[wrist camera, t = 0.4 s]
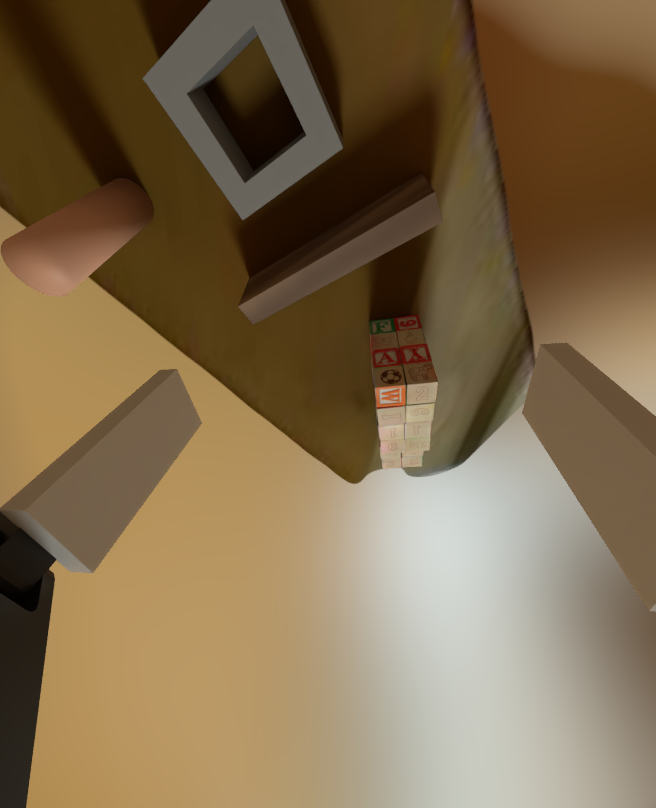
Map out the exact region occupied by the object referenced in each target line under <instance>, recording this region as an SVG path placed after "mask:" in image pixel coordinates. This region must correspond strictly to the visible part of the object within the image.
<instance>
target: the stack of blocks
mask: <svg viewBox="0 0 656 808" xmlns="http://www.w3.org/2000/svg"><path fill="white" fill-rule="evenodd" d="M369 328H370V349H371V364H372V375H373V384H374V391H375V410H376V420H377V427H378V438H379V448H380V457H381V459H382V468H383V469H387V468H401V467H416V466H422V459H423V451H427V450H429V449H430V439H431V436H430V433H431V423H432V422H431V421H432V420H433V414H434V406H435V401H436V394H437V387H438V380H437V377H436V374H435V370H434V367H433V364H432V359H431V356H430V352H429V349H428V346H427V344H426V341H425V338H424V334H423V331H422V326H421V323H420V319H419V316H418V315H412V316H404V317H397V318H391V319H383V320H375V321H369Z"/></svg>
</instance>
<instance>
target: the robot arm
mask: <svg viewBox="0 0 656 808" xmlns="http://www.w3.org/2000/svg"><path fill="white" fill-rule="evenodd" d="M522 413H523V415H524V416H525V418H526V420H527V421H528V423H529V424H530V426H531V427H532V429H533V430H534V432H535V434H536V435H537V437H538V438H539V440H540V441H541V443H542V445H543V446H544V448H545V449H546V451H547V452H548V454H549V456H550V457H551V459H552V460H553V462H554V463H555V465H556V467H557V468H558V470H559V471H560V473H561V474H562V476H563V478H564V479H565V481H566V482H567V484H568V485H569V487H570V489H571V490H572V492H573V493H574V495H575V496H576V498H577V499H578V501H579V503H580V504H581V506H582V507H583V509H584V510H585V512H586V514H587V515H588V517H589V518H590V520H591V521H592V523H593V525H594V526H595V528H596V529H597V531H598V532H599V534H600V535H601V537H602V538H603V540H604V542H605V543H606V545H607V546H608V548H609V550H610V551H611V553H612V554H613V556H614V557H615V559H616V561H617V562H618V564H619V565H620V567H621V568H622V570H623V571H624V573H625V575H626V576H627V578H628V579H629V581H630V582H631V584H632V586H633V587H634V589H635V590H636V592H637V593H638V595H639V597H640V598H641V600H642V601H643V603H644V604H645V606H646V607H647V609H648V611H656V416H654V415H653V414H652V413H651V412H650V411H648V410H647V409H646V408H645V407H644V406H642V405H641V404H640V403H639V402H638V401H636V400H635V399H634V398H633V397H632V396H630V395H629V394H628V393H627V392H626V391H624V390H623V389H622V388H621V387H620V386H618V385H617V384H616V383H615V382H614V381H612V380H611V379H610V378H609V377H608V376H606V375H605V374H604V373H603V372H601V371H600V370H599V369H598V368H597V367H596V366H594V365H593V364H592V363H591V362H589V361H588V360H587V359H586V358H585V357H583V356H582V355H581V354H580V353H579V352H578V351H576V350H575V349H574V348H573V347H572V346H570V345H569V344H568V343H554V344H541V345H540V348H539V352H538V355H537V359H536V363H535V366H534V370H533V374H532V378H531V381H530V385H529V389H528V393H527V396H526V400H525V404H524V408H523V412H522ZM201 424H202V422H201V420H200V418H199V416H198V414H197V412H196V409H195V407H194V405H193V403H192V401H191V399H190V396H189V394H188V392H187V390H186V388H185V386H184V383H183V381H182V379H181V377H180V375H179V373H178V370H177V369H172V370H171V369H170V370H160V371H158V372H157V373H156V374H155V375H154V376H153V377H151V378H150V379H149V380H148V381H147V382H146V383H144V384H143V385H142V386H141V387H140V388H139V389H137V390H136V391H135V392H134V393H133V394H132V395H131V396H129V397H128V398H127V399H126V400H125V401H124V402H122V403H121V404H120V405H119V406H118V407H117V408H115V409H114V410H113V411H112V412H111V413H110V414H109V415H107V416H106V417H105V418H104V419H103V420H102V421H100V422H99V423H98V424H97V425H96V426H95V427H93V428H92V429H91V430H90V431H89V432H88V433H87V434H86V435H84V436H83V437H82V438H81V439H80V440H78V441H77V442H76V443H75V444H74V445H73V446H71V447H70V448H69V449H68V450H67V451H66V452H65V453H63V454H62V455H61V456H60V457H59V458H58V459H56V461H54V462H53V463H52V464H51V465H49V466H48V467H47V468H46V469H45V470H44V471H43V472H41V473H40V474H39V475H38V476H37V477H36V478H35V479H33V480H32V481H31V482H30V483H29V484H27V485H26V486H25V487H24V488H23V489H22V490H20V492H18V493H17V494H16V495H15V496H14V497H12V498H11V499H10V500H9V501H8V502H7V503H5V504H4V505H3V506H2V507H1V508H0V808H26V802H27V795H28V787H29V779H30V771H31V763H32V755H33V747H34V739H35V731H36V724H37V716H38V707H39V700H40V692H41V684H42V676H43V669H44V661H45V653H46V645H47V636H48V629H49V621H50V613H51V605H52V597H53V589H54V581H55V578H54V573H53V572H51V571H50V570H49V568H50V567H51V565H52V564H53V563H54V562H55V561H56V560H57V561H58V562H59V563H60V564H62V565H63V566H64V567H65V568H66V569H67V570H69V571H70V572H84V573H93V572H94V571H95V570H96V568H97V567H98V565H99V564H100V563H101V561H102V560H103V559H104V557H105V556H106V554H107V553H108V552H109V550H110V549H111V548H112V546H113V545H114V543H115V542H116V541H117V539H118V538H119V537H120V535H121V534H122V532H123V531H124V530H125V528H126V527H127V525H128V524H129V523H130V521H131V520H132V518H133V517H134V516H135V515H136V513H137V512H138V510H139V509H140V508H141V506H142V505H143V503H144V502H145V501H146V499H147V498H148V497H149V495H150V494H151V492H152V491H153V490H154V488H155V487H156V486H157V484H158V483H159V481H160V480H161V479H162V477H163V476H164V475H165V473H166V472H167V470H168V469H169V468H170V466H171V465H172V463H173V462H174V461H175V459H176V458H177V457H178V455H179V454H180V453H181V451H182V450H183V448H184V447H185V446H186V444H187V443H188V441H189V440H190V439H191V437H192V436H193V434H194V433H195V432H196V431H197V429H198V428H199V426H200V425H201Z"/></svg>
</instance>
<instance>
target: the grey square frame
mask: <svg viewBox="0 0 656 808" xmlns="http://www.w3.org/2000/svg"><path fill="white" fill-rule="evenodd" d="M257 35H258V36H259V38H260V40H261V42H262V44H263V46H264V48H265V50H266V52H267V54H268V56H269V59H270V61H271V63H272V65H273V67H274V69H275V71H276V73H277V75H278V77H279V79H280V81H281V84H282V86H283V88H284V90H285V92H286V94H287V96H288V98H289V100H290V102H291V104H292V106H293V108H294V111H295V113H296V115H297V117H298V119H299V121H300V123H301V125H302V127H303V129H304V132H303V133H302V134H300V135H299V136H298V137H297V138H295V139H294V140H293V141H292V142H290V143H289V144H288V145H287V146H285V147H284V148H283V149H281V150H280V151H279V152H278V153H276V154H275V155H274V156H273V157H271V158H270V159H269V160H268V161H266V162H265V163H264V164H262V165H261V166H260V167H259V168H257V169H256V170H255V171H253V169H252V167H251V166H250V164H249V162H248V161H247V159H246V158H245V156H244V154H243V153H242V151H241V149H240V148H239V146H238V145H237V143H236V141H235V140H234V138H233V136H232V135H231V133H230V132H229V130H228V128H227V127H226V125H225V123H224V122H223V120H222V119H221V117H220V115H219V114H218V112H217V110H216V109H215V107H214V106H213V104H212V102H211V101H210V99H209V97H208V96H207V94H206V93H205V91H204V88H205V87H206V86H207V85H208V84H209V83H210V82H211V81H212V80H213V79H214V78H215V77H216V76H217V75H218V74H219V73H220V72H221V71H222V70H223V69H224V68H225V67H226V66H227V65H228V64H229V63H230V62H231V61H232V60H233V59H234V58H235V57H236V56H237V55H238V54H239V53H240V52H241V51H242V50H243V49H244V48H245V47H246V46H247V45H248V44H249V43H250V42H251V41H252V40H253V39H254V38H255V37H256V36H257ZM143 79H144V81H145V82H146V84H147V85H148V86H149V88H150V89H151V91H152V92H153V94H154V95H155V96H156V98H157V99H158V101H159V102H160V103H161V105H162V106H163V108H164V109H165V111H166V112H167V113H168V115H169V116H170V118H171V119H172V121H173V122H174V123H175V125H176V126H177V128H178V129H179V130H180V132H181V133H182V135H183V136H184V138H185V139H186V140H187V142H188V143H189V145H190V146H191V148H192V149H193V150H194V152H195V153H196V155H197V156H198V157H199V159H200V160H201V162H202V163H203V165H204V166H205V167H206V169H207V170H208V172H209V173H210V175H211V176H212V177H213V179H214V180H215V182H216V183H217V184H218V186H219V187H220V189H221V190H222V192H223V193H224V194H225V196H226V197H227V199H228V200H229V202H230V203H231V204H232V206H233V207H234V209H235V210H236V211H237V213H238V214H239V216H240V217H241V219H242V220H244V219H246V218H247V217H248V216H250V215H251V214H253V213H254V212H255V211H257V210H258V209H259V208H261V207H262V206H264V205H265V204H266V203H268V202H269V201H271V200H272V199H273V198H275V197H276V196H277V195H279V194H280V193H282V192H283V191H284V190H286V189H287V188H289V187H290V186H291V185H293V184H294V183H295V182H297V181H298V180H300V179H301V178H302V177H304V176H305V175H307V174H308V173H309V172H311V171H312V170H313V169H315V168H316V167H318V166H319V165H320V164H322V163H323V162H325V161H326V160H327V159H329V158H330V157H331V156H333V155H334V154H336V153H337V152H338V151H340V150H341V149H343V138H342V136H341V133H340V131H339V128H338V126H337V124H336V121H335V119H334V116H333V114H332V112H331V109H330V107H329V104H328V102H327V100H326V97H325V95H324V92H323V90H322V88H321V85H320V83H319V80H318V78H317V76H316V73H315V71H314V68H313V66H312V64H311V61H310V59H309V57H308V54H307V52H306V49H305V47H304V45H303V42H302V40H301V37H300V35H299V33H298V30H297V28H296V25H295V23H294V21H293V18H292V16H291V13H290V11H289V9H288V6H287V4H286V1H285V0H211V1H210V2H209V3H208V4H207V5H206V7H205V8H204V9H203V10H202V11H201V12H200V13H199V15H198V16H197V17H196V18H195V19H194V20H193V21H192V23H191V24H190V25H189V26H188V27H187V28H186V29H185V31H184V32H183V33H182V34H181V35H180V36H179V38H178V39H177V40H176V41H175V42H174V43H173V44H172V46H171V47H170V48H169V49H168V50H167V51H166V52H165V54H164V55H163V56H162V57H161V58H160V59H159V60H158V62H157V63H156V64H155V65H154V66H153V67H152V69H151V70H150V71H149V72H148V73H147V74H146V75H145V77H144V78H143Z"/></svg>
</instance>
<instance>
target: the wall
mask: <svg viewBox="0 0 656 808" xmlns="http://www.w3.org/2000/svg"><path fill="white" fill-rule="evenodd" d="M442 222H443V219H442V216H441V212H440V208H439V205H438V201H437V197H436V194H435V191H434V190H433V188H432V187H431V185H430V184H429V182H428V181H427V179H426V178H425V177H424V175H423V174H422V172H420V173H419V174H417V175H416V176H414V177H412V178H411V179H409V180H408V181H406V182H404V183H403V184H401V185H399V186H398V187H396V188H395V189H393V190H391V191H390V192H388V193H387V194H385V195H383V196H382V197H380V198H378V199H377V200H375V201H374V202H372V203H370V204H369V205H367V206H366V207H364V208H362V209H361V210H359V211H357V212H356V213H354V214H353V215H351V216H349V217H348V218H346V219H345V220H343V221H341V222H340V223H338V224H336V225H335V226H333V227H332V228H330V229H328V230H327V231H325V232H324V233H322V234H320V235H319V236H317V237H315V238H314V239H312V240H311V241H309V242H307V243H306V244H304V245H303V246H301V247H299V248H298V249H296V250H294V251H293V252H291V253H290V254H288V255H286V256H285V257H283V258H282V259H280V260H278V261H277V262H275V263H273V264H272V265H270V266H269V267H267V268H265V269H264V270H262V271H261V272H259V273H257V274H256V275H254V276H252V277H251V278H249V281H248V283H247V286H246V288H245V291H244V293H243V296H242V298H241V301H240V303H239V305H238V307H239V308H240V309H241V311H242V312H243V313H244V314H245V315H246V316H247V317H248V319H249V320H250V321H251V322H252V323H253V324H255V323H257V322H259V321H261V320H262V319H264V318H266V317H268V316H270V315H272V314H274V313H275V312H277V311H279V310H281V309H283V308H285V307H287V306H288V305H290V304H292V303H294V302H296V301H298V300H299V299H301V298H303V297H305V296H307V295H309V294H311V293H312V292H314V291H316V290H318V289H320V288H322V287H324V286H325V285H327V284H329V283H331V282H333V281H335V280H337V279H338V278H340V277H342V276H344V275H346V274H348V273H349V272H351V271H353V270H355V269H357V268H359V267H361V266H362V265H364V264H366V263H368V262H370V261H372V260H374V259H375V258H377V257H379V256H381V255H383V254H385V253H387V252H388V251H390V250H392V249H394V248H396V247H398V246H399V245H401V244H403V243H405V242H407V241H409V240H411V239H412V238H414V237H416V236H418V235H420V234H422V233H424V232H425V231H427V230H429V229H431V228H433V227H435V226H436V225H438V224H440V223H442Z"/></svg>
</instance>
